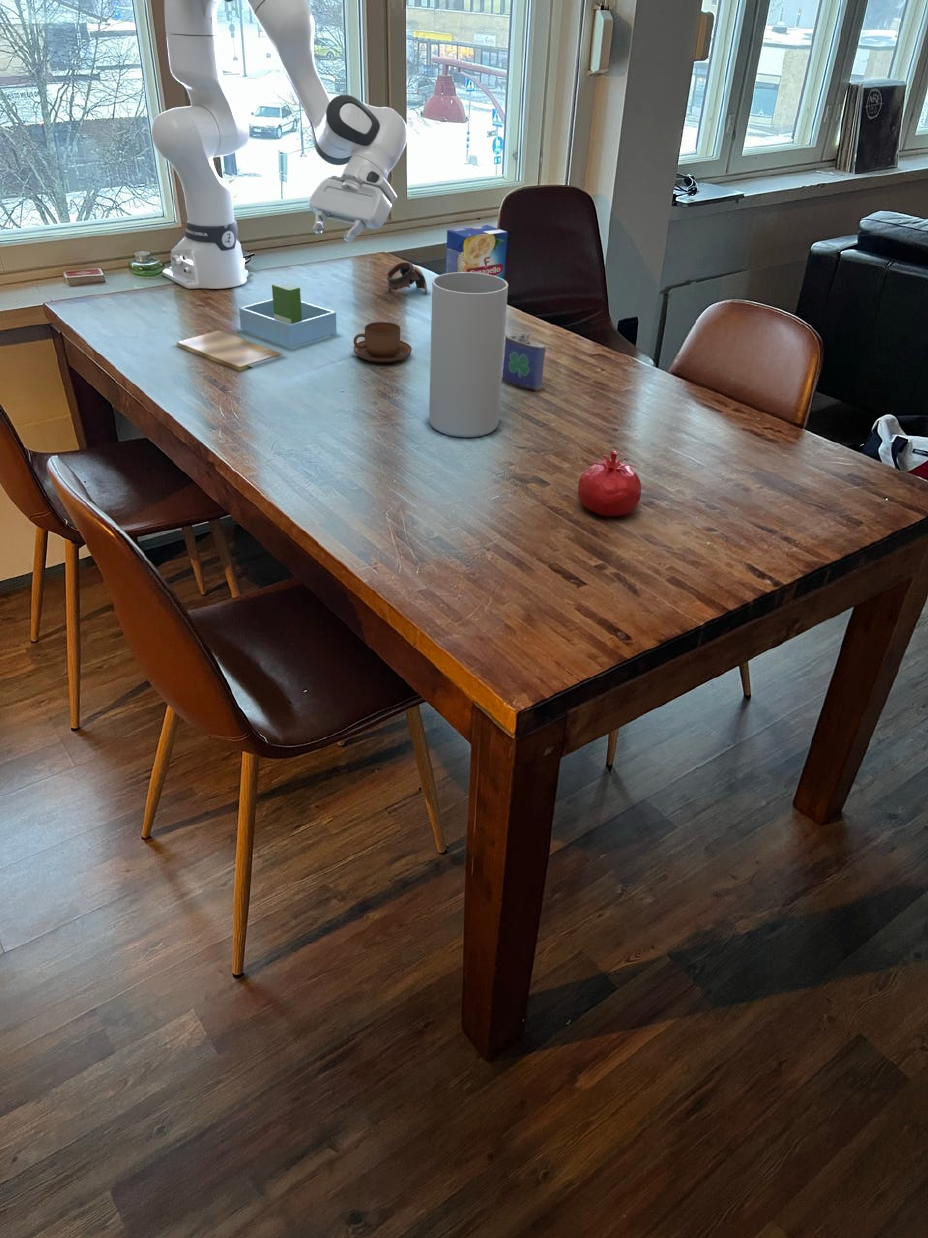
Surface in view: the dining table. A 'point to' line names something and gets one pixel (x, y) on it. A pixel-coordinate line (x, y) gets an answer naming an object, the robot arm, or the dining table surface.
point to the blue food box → (476, 250)
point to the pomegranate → (610, 487)
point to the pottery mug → (406, 277)
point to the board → (227, 350)
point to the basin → (309, 329)
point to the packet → (286, 303)
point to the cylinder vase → (466, 352)
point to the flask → (523, 362)
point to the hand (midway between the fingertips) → (331, 236)
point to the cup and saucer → (381, 343)
